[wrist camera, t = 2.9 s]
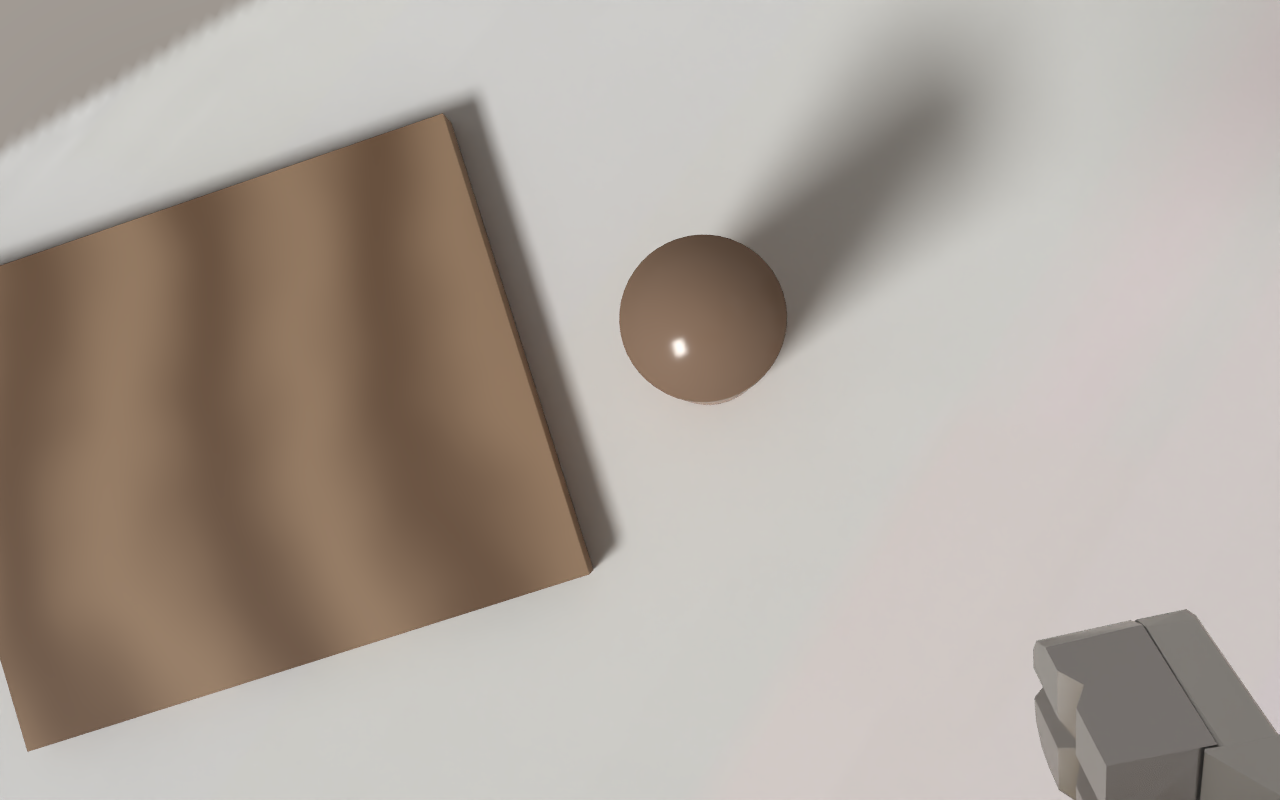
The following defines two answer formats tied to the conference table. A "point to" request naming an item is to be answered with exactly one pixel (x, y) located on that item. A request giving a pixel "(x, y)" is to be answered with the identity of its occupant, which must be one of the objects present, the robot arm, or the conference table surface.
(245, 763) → the conference table surface
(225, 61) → the conference table surface
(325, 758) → the conference table surface
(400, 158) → the board
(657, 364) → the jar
